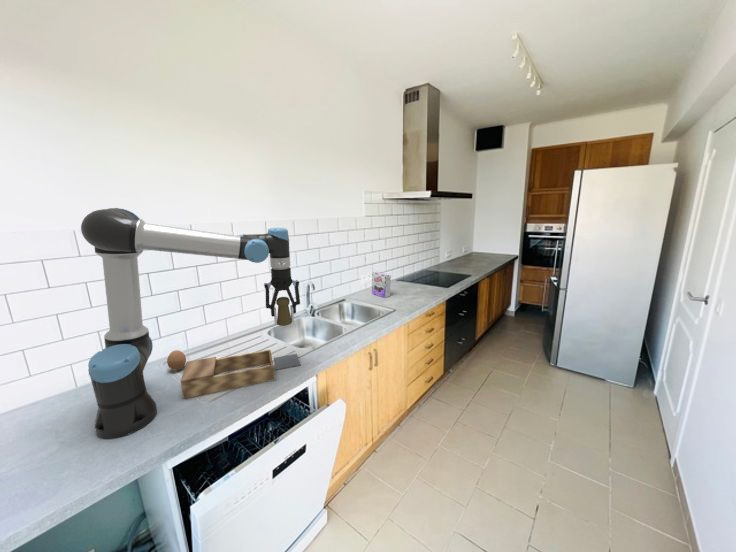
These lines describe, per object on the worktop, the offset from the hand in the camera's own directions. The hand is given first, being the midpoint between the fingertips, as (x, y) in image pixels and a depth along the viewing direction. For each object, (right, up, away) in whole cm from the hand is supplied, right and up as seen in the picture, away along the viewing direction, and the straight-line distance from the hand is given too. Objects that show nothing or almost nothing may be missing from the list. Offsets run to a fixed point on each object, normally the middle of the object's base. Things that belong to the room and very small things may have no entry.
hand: (284, 321), depth 123 cm
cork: (0, -1, 0) cm, 1 cm away
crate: (-18, -21, -7) cm, 29 cm away
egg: (-43, -19, -1) cm, 47 cm away
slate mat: (0, -18, +5) cm, 18 cm away
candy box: (+44, +5, +96) cm, 106 cm away
